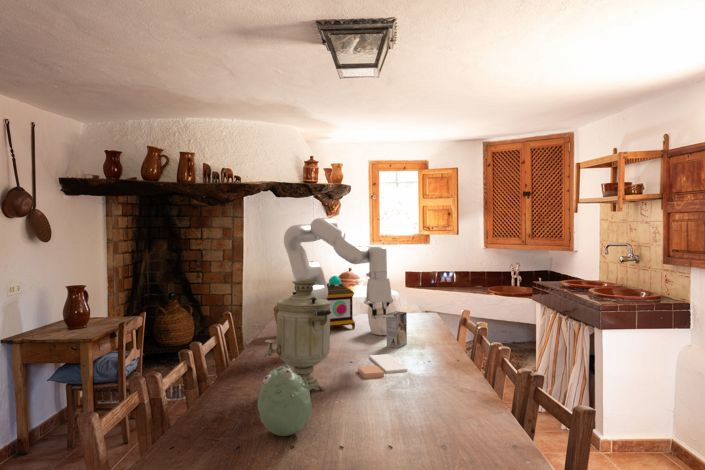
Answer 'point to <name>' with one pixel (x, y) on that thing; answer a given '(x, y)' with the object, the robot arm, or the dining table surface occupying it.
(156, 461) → the dining table surface
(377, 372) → the tile
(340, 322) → the decorative lantern
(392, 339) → the coffee box
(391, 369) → the board
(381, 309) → the turner
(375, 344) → the dining table surface
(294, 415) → the pale green egg shape
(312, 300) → the samovar
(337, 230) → the robot arm
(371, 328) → the white faceted vase
